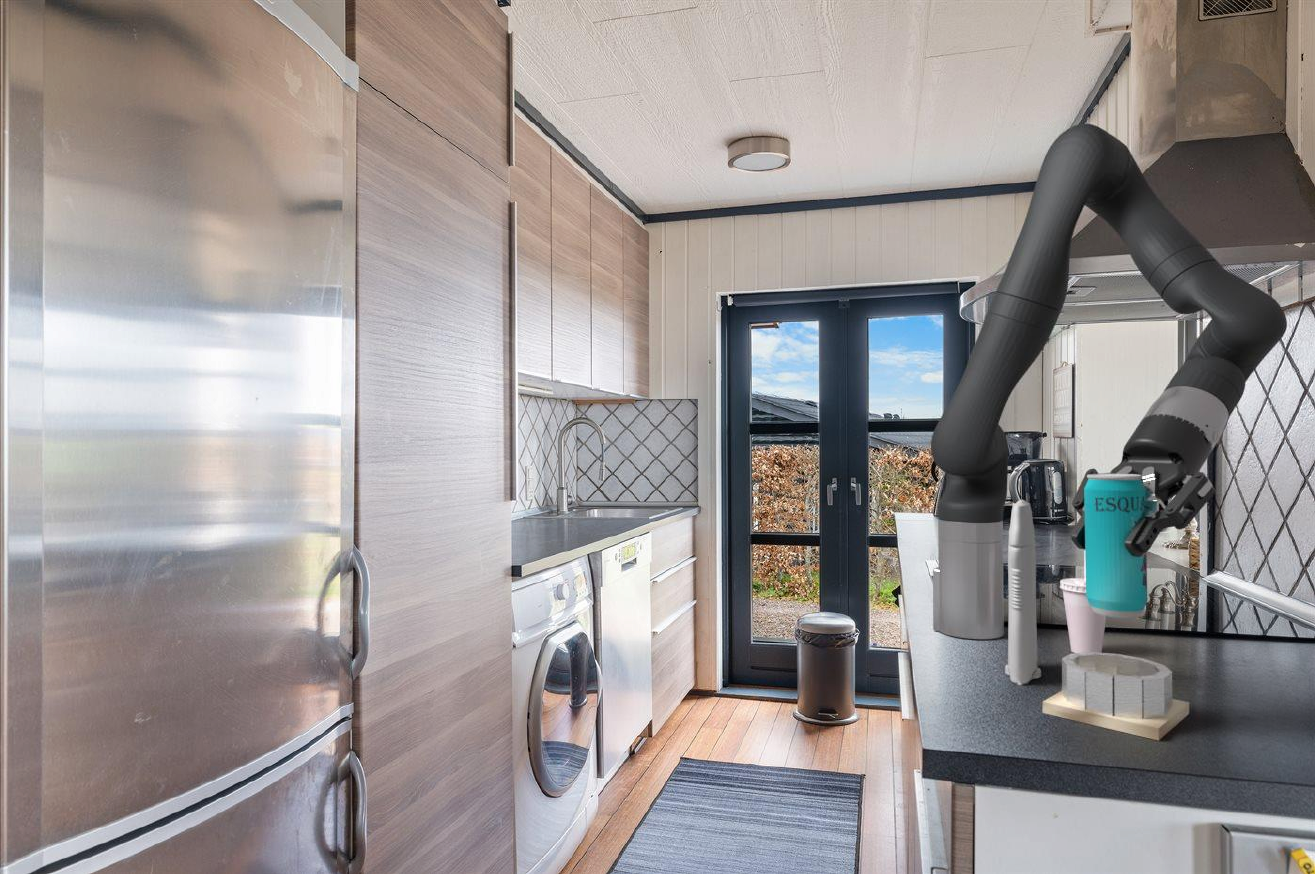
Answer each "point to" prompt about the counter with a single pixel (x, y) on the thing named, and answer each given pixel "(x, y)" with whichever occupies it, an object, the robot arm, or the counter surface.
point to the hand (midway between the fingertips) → (1104, 547)
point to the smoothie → (1082, 617)
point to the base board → (1118, 718)
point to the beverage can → (1114, 545)
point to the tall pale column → (1022, 597)
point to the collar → (1117, 685)
